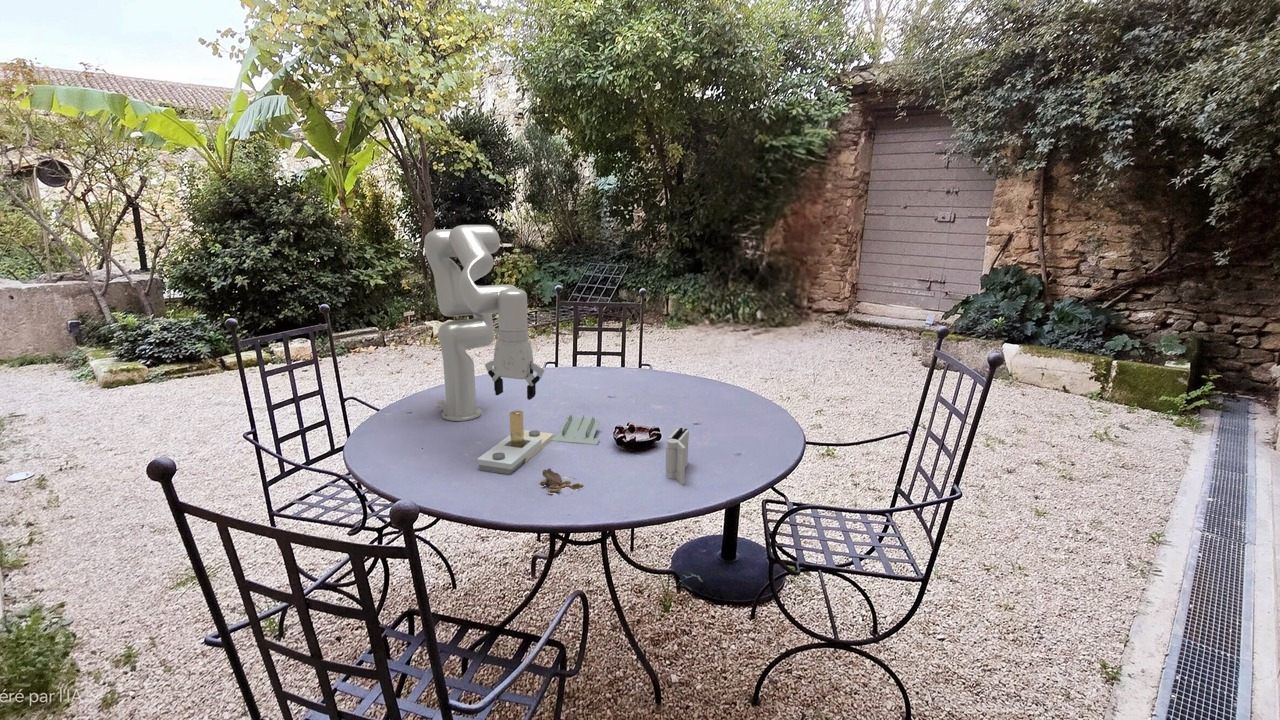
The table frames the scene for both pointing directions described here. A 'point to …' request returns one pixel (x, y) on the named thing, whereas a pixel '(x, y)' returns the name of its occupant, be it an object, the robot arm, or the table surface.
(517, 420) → the brass pin
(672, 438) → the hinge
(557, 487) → the frog figurine
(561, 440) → the metal bracket
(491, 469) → the white peg board
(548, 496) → the table surface
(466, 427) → the table surface
